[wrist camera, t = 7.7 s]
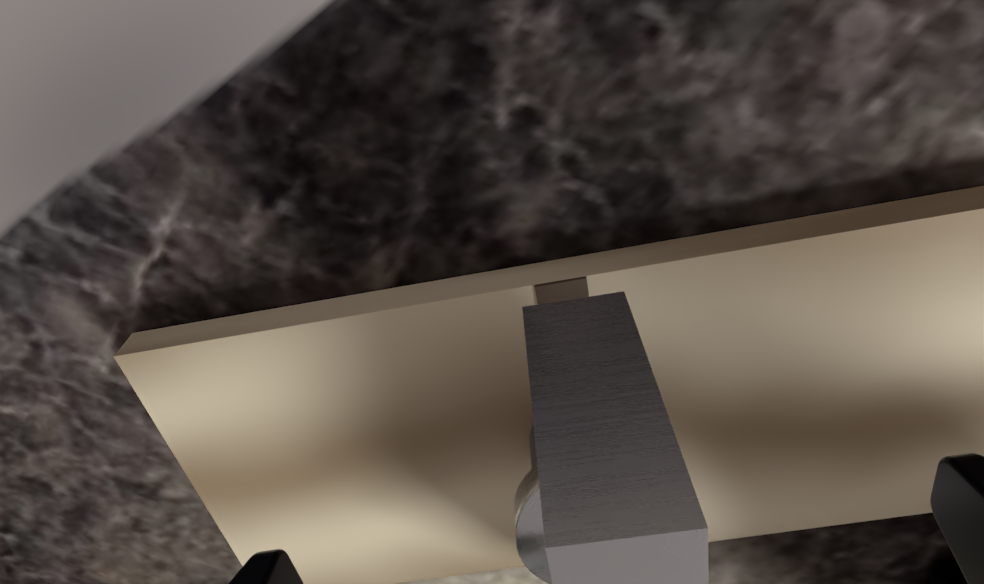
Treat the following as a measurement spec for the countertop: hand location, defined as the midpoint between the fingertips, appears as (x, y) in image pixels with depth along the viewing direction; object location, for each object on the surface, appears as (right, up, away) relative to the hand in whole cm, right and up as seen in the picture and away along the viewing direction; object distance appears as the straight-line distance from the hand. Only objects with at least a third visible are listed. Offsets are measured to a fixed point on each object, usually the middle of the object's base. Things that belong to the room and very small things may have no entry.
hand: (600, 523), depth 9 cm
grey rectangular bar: (+1, -2, +7) cm, 7 cm away
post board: (+1, 0, +9) cm, 9 cm away
